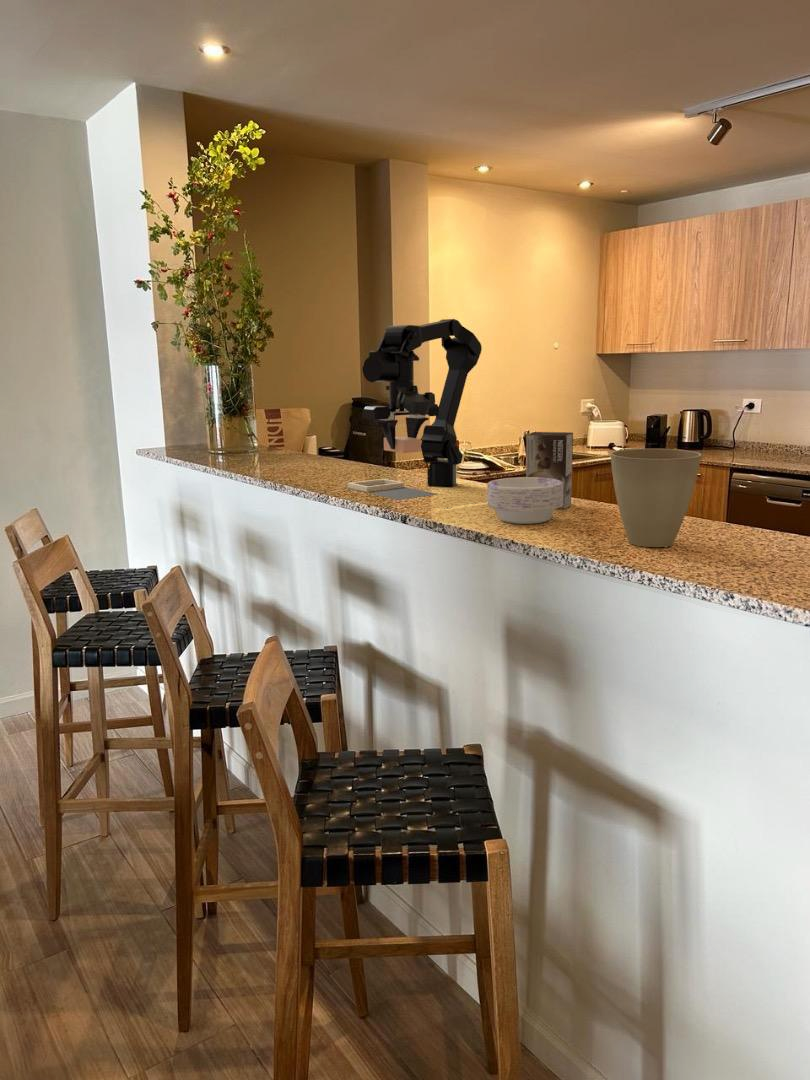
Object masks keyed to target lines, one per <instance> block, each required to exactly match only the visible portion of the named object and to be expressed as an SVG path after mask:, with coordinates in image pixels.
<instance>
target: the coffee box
mask: <svg viewBox="0 0 810 1080" xmlns="http://www.w3.org/2000/svg"><path fill="white" fill-rule="evenodd" d="M525 438H526V439H525V440H526V441H525V442H526V453H525V454H526V456H525V458H526V463H525V465H526V466H525V469H526V471H525V475H526V476H525V477H540V478H550V479H556V480H560V481H562V482H563V506H561V507H560V508H558V509H559V510H560V509H561V510H563V509H564V510H566V509H568V508H569V507H570V506H572V484H573V482H572V481H573V451H574V450H573V449H574V447H573V446H574V432H570V431H569V432H567V431H565V432H563V431H560V432H559V431H556V432H555V431H533V432H530V433H529V434H528V433H527V434H526V437H525Z"/></svg>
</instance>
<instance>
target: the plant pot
mask: <svg viewBox="0 0 810 1080" xmlns="http://www.w3.org/2000/svg"><path fill="white" fill-rule="evenodd" d="M609 456H610V464H611V473H612V480H613V487H614V492H615V497H616V502H617V506H618V510H619V511H618V512H619V514H620V517H621V518H620V519H621V521H622V525H623V529H624V531H625V535H626V537H627V540H628V543H629V542H630V543H631V545H632V544H634V545H633V546H635V545H637V546H636V547H639V546H644V547H643V548H646V547H664V548H667V547H666V546H669V547H671V546H673V545H674V543H675V540H676V538H677V536H678V533H679V532H680V529H681V527H682V525H683V522H684V520H685V516H686V514H687V511H688V508H689V505H690V502H691V499H692V496H693V492H694V489H695V487H696V486H695V485H696V481H697V478H698V473H699V469H700V464H701V459H702V453H700V452H697V451H692V450H687V449H686V450H685V449H675V448H674V449H673V448H631V449H630V448H628V449H618V450H614V451H612V452H610V455H609ZM630 543H629V544H630ZM672 544H673V545H672Z"/></svg>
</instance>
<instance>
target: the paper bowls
mask: <svg viewBox="0 0 810 1080" xmlns="http://www.w3.org/2000/svg"><path fill="white" fill-rule="evenodd" d="M486 487H487V488H486V497H487V498H486V499H487V500H486V501H487V507H488V508H490V509H494V510H495V512H496V514H497V517H498V519H500V520H501V521H502V522H505V523H510V524H516V525H533V524H542V523H545V522H547V521H549V520H550V519H551V518H552V516H553V514H554V512H555V510H557V509H559V508H560V507H561V506H563V482H562V481H560V480H556V479H550V478H540V477H526V476H521V477H520V476H519V477H518V476H517V477H505V478H499V479H493V480H490V481H489V482H487V484H486Z"/></svg>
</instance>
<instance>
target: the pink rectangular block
mask: <svg viewBox="0 0 810 1080" xmlns="http://www.w3.org/2000/svg"><path fill="white" fill-rule="evenodd" d="M421 442H422V441H421V438H419V437H418V438H417V437H416V438H411V437H408V436H402V435H400V436H395V449H391V447H390V445H389V443H388V441H387V439H386V437H383V451H387V452H394V453H401V454H408V453H409V454H410V453H419V452H422V450H421Z"/></svg>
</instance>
